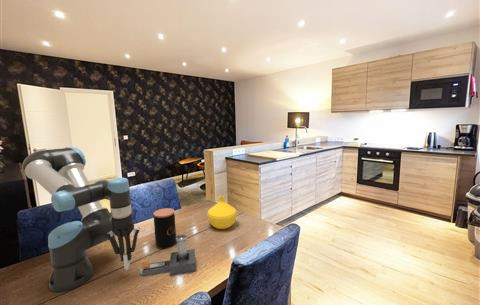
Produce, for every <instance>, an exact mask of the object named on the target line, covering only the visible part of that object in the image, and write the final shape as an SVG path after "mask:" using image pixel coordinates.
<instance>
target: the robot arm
mask: <svg viewBox="0 0 480 305" xmlns="http://www.w3.org/2000/svg"><path fill="white" fill-rule="evenodd" d="M85 157H86V156H85V154H84V152H82V150H81V149H80V148H78V147H74V146H73V147H72V146H71V147H64V148H53V149H50V148H49V149H40V150H37V151H34V152H32V153H30V154H29V155H28V156H26V157H25V159H24V160H23V162H22V165H21V171H22V172H23V175H24V176H26V177H27V178H28V179H30V180H34V181H36V182H37V184H39V185H40V186H41V187H42V188H43V189H44V190H45V191H46V192H47V193H49V194H50V195H51V197H50V202H51V206H52V207H53V209H54V210H55V211H56V212H58V213H62V212H65V211H71V210H73V209H78V210H79V212H80V215H81V216H82V218H81V220H74V221H69V222H65V223H63V224H61V225H59V226H57V227H55V228H54V229H52V230H51V231H50V232H49V234H48V236H47V237H48V238H47V243H48V244H47V247H48V250H49V256H50V261H51V267H52V269H51V270H50V275H49V280H48V286H49V290H50V291H52V292H56V293H58V292H65V291H70V290H73V289H75V288H77V287H79V286H82V285H83V284H85V283H86V282H87V281H89V280H90V279H91V277H92V276H93V274H94V266H93V265H92V262H91V261H90V260H89V258H88V256H87V251H88V250H89V249H91V248H93V247H96V246H97V245H100V244H102V243H104V242H107V241H109V242H110V245H111V247H112V249H113V252H114V254H115V255H120V261H121V262H123V267H124V268H123V269H124V270H129V268H130V266H131V263H130V262H131V260H132V256H133V255H132V253H134V252H135V251H136V250H135V249H136V246H137V242H138V237H139V236H138V235H139V233H140V230H141V227H136V226H135V225H134V224H133V223H134V222H133V214H132V211H133V210H132V205H131V204H132V203H131V192H130V190H131V189H130V188H131V187H130V184H129V183H130V182H129V179H128V178H126V177H113V178H111V179H109V180H107V179H98V180H96V181H95V182H94V183H91V184H90V181H89V180H88V178H87V175H85V172H84V169H85V166H86V164H87V162H86V161H87V160H86V158H85ZM102 200H108V201H109V208H110V211H109V209H108V208H107V207H104V206H102V204H101V202H100V201H102ZM132 232H133V239H132V243H131V237H130V236H131V233H132ZM116 237H117V239H116ZM124 241H125V242H124ZM125 247H126V248H125Z"/></svg>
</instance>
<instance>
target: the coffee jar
mask: <svg viewBox="0 0 480 305" xmlns="http://www.w3.org/2000/svg"><path fill="white" fill-rule="evenodd" d="M152 215H153V228H154V238H155V245H156V247H158V248H159V249H168V248H171V247H173V246H174V245H175V244H176V243H177V241H176V236H177V233H176V232H177V228H176V218H175V217H176V215H175V210H174V209H173V208H170V207H169V208H167V207H166V208H160V209H157V210H155V211H154V212H153V214H152Z"/></svg>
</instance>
